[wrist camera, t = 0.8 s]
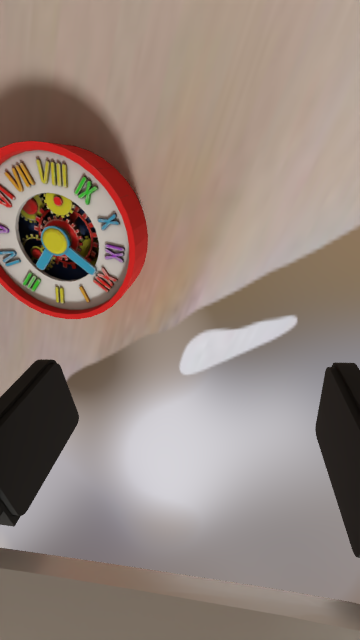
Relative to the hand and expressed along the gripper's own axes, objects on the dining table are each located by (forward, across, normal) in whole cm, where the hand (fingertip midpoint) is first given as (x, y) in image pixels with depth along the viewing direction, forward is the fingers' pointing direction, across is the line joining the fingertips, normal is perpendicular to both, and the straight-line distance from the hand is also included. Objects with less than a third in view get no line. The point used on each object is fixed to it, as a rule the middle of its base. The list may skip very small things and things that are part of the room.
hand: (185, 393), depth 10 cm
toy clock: (+29, +19, -1) cm, 34 cm away
